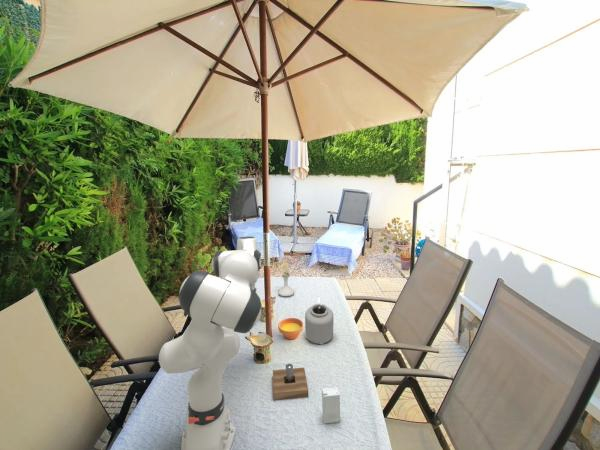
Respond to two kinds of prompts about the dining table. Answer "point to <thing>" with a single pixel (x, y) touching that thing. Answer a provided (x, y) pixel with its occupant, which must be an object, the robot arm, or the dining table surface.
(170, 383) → the dining table surface
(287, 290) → the flower in vase
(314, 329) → the jar
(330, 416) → the skincare box
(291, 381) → the peg
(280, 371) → the socket block
